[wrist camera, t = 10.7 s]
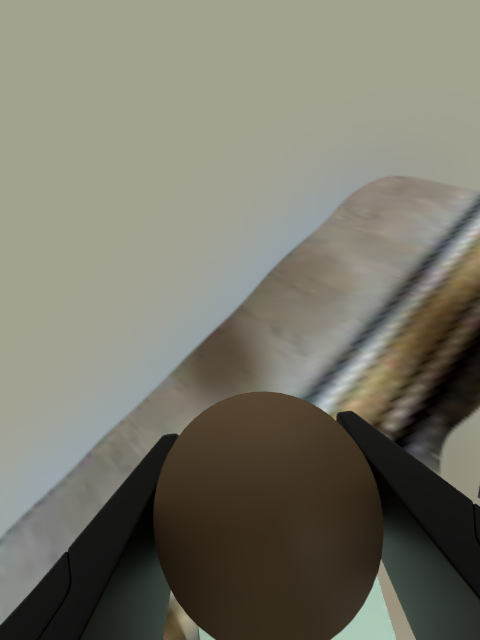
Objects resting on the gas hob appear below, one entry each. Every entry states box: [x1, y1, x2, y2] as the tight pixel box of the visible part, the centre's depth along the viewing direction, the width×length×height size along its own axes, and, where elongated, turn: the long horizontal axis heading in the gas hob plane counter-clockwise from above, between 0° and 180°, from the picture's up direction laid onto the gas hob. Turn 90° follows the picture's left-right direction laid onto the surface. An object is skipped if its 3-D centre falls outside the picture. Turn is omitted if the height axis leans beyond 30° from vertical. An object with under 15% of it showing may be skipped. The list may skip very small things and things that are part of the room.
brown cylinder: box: [153, 392, 384, 640], centre depth 10 cm, size 5×5×9 cm
